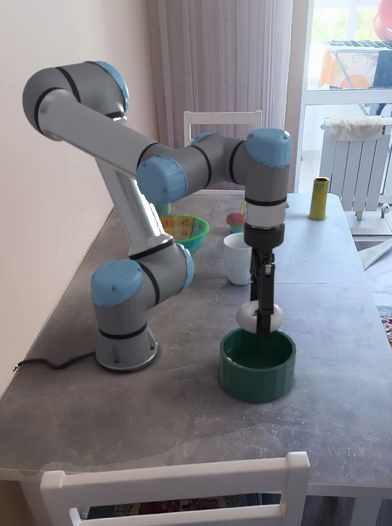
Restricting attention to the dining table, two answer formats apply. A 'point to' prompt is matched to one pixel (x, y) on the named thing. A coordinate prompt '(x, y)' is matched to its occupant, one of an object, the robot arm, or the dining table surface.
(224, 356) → the pot
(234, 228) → the cupcake
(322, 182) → the vase
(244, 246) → the mug
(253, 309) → the donut
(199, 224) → the bowl
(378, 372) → the dining table surface
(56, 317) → the dining table surface
